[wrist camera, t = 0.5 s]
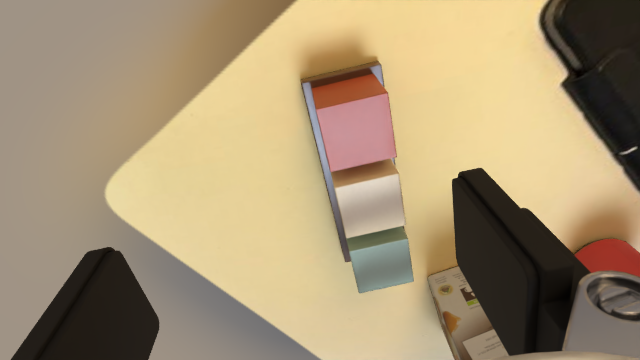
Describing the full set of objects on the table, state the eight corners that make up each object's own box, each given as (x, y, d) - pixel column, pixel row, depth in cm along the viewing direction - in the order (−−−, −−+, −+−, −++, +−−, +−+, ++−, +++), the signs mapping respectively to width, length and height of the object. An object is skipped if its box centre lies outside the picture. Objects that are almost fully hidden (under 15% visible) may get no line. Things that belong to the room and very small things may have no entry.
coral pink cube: (311, 88, 28) (315, 109, 24) (373, 73, 28) (388, 92, 24) (324, 144, 30) (330, 172, 26) (382, 131, 30) (396, 157, 26)
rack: (300, 79, 28) (303, 104, 24) (378, 60, 28) (397, 81, 23) (343, 255, 37) (352, 299, 32) (404, 242, 36) (421, 284, 32)
